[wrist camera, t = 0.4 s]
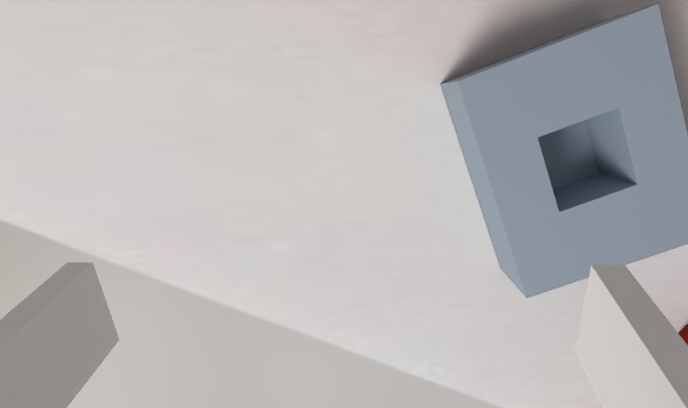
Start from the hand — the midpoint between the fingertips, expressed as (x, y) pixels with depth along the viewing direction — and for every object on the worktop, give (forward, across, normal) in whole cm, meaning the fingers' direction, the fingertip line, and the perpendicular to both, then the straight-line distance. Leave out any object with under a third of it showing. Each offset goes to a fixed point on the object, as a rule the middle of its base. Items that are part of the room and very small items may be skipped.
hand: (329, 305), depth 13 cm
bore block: (+27, +14, -5) cm, 30 cm away
